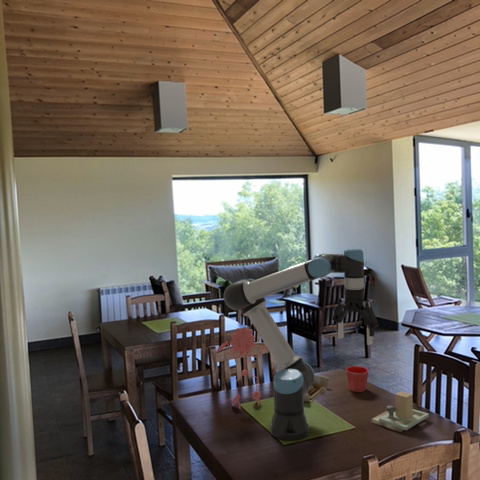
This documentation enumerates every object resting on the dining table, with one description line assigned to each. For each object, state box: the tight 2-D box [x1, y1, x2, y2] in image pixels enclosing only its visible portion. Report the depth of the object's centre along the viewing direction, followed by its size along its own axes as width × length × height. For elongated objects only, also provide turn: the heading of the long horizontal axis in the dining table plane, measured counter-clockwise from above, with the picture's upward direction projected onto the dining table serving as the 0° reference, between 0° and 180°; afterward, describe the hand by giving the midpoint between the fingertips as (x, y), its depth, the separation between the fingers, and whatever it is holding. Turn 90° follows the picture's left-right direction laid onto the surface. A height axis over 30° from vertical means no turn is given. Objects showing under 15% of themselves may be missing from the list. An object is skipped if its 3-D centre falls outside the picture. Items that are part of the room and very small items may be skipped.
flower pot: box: [345, 365, 369, 393], centre depth 239 cm, size 11×11×10 cm
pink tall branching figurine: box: [215, 327, 270, 411], centre depth 225 cm, size 15×26×35 cm, turn 110°
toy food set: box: [304, 374, 330, 404], centre depth 237 cm, size 25×18×8 cm
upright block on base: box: [379, 391, 430, 431], centre depth 199 cm, size 12×18×10 cm, turn 132°
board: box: [371, 405, 421, 433], centre depth 202 cm, size 13×18×7 cm
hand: (355, 341), depth 195 cm, fingers open, 13 cm apart
